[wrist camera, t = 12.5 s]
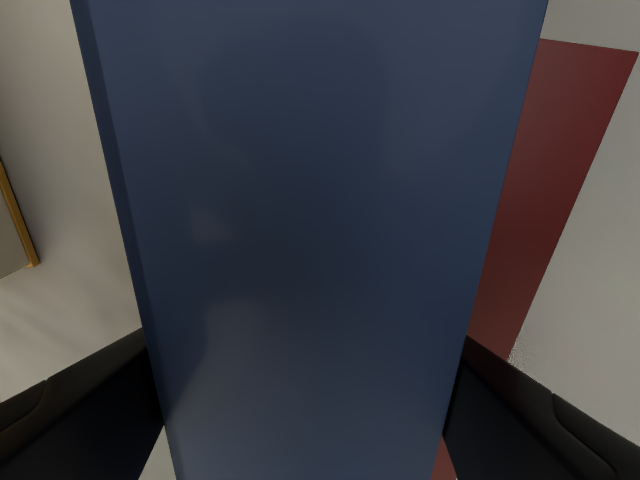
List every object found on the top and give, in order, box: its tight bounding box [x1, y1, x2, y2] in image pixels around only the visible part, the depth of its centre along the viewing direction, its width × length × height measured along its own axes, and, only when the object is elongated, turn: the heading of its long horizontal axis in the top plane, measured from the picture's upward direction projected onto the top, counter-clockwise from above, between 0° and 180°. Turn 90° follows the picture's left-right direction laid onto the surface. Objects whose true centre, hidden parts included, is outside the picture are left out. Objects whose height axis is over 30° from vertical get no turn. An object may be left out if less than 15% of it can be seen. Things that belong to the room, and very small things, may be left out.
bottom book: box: [431, 38, 639, 480], centre depth 11 cm, size 17×11×3 cm, turn 173°
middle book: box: [70, 0, 549, 480], centre depth 8 cm, size 15×6×3 cm, turn 178°
